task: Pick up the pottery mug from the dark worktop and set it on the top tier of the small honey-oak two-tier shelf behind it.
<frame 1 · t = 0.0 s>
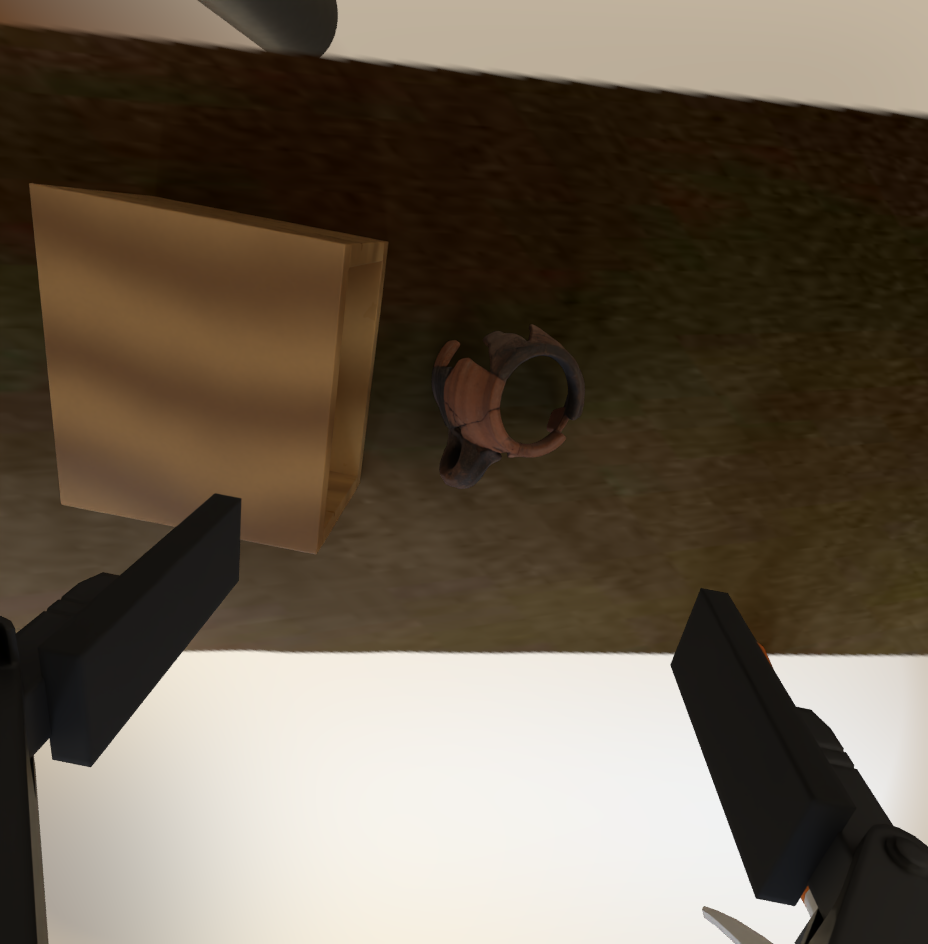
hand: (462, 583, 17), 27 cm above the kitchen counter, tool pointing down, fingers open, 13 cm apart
shelf: (265, 351, 43), on the kitchen counter
pottery mug: (494, 395, 43), on the kitchen counter
spray bottle: (700, 667, 50), on the kitchen counter
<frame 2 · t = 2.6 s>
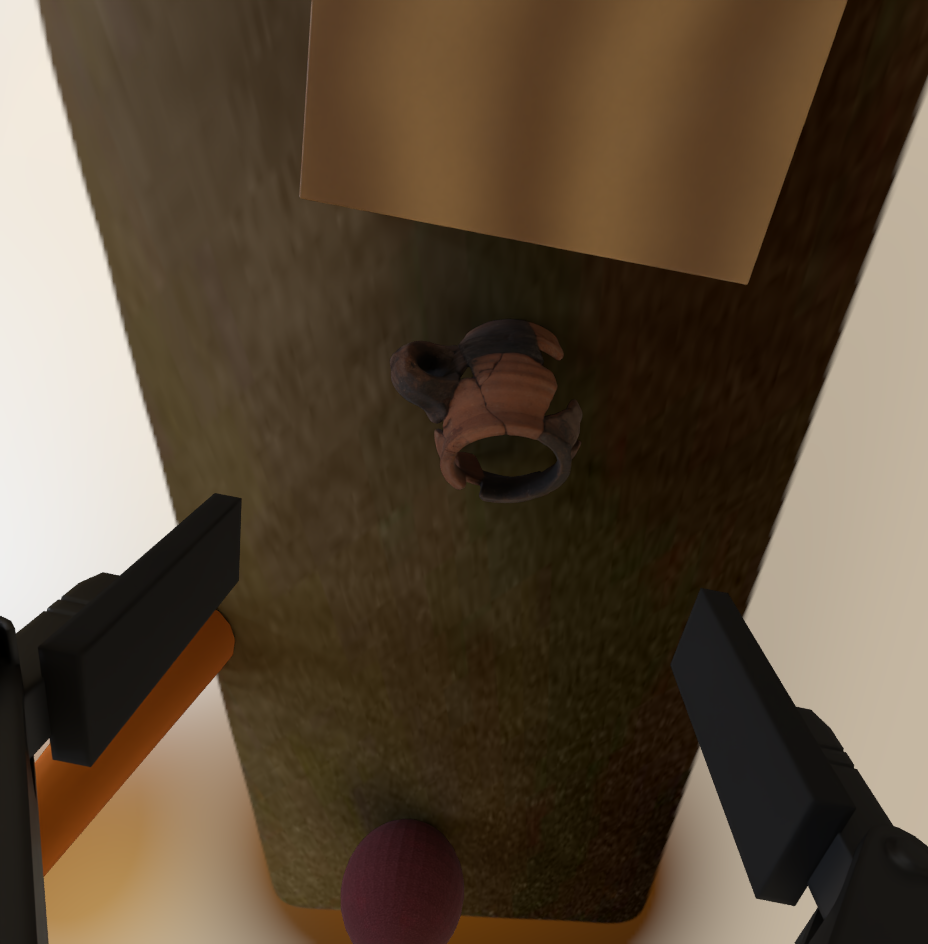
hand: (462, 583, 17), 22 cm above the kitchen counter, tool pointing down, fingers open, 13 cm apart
shelf: (553, 73, 30), on the kitchen counter
pottery mug: (490, 390, 37), on the kitchen counter
decorative ball: (413, 830, 53), on the kitchen counter
spray bottle: (182, 612, 45), on the kitchen counter
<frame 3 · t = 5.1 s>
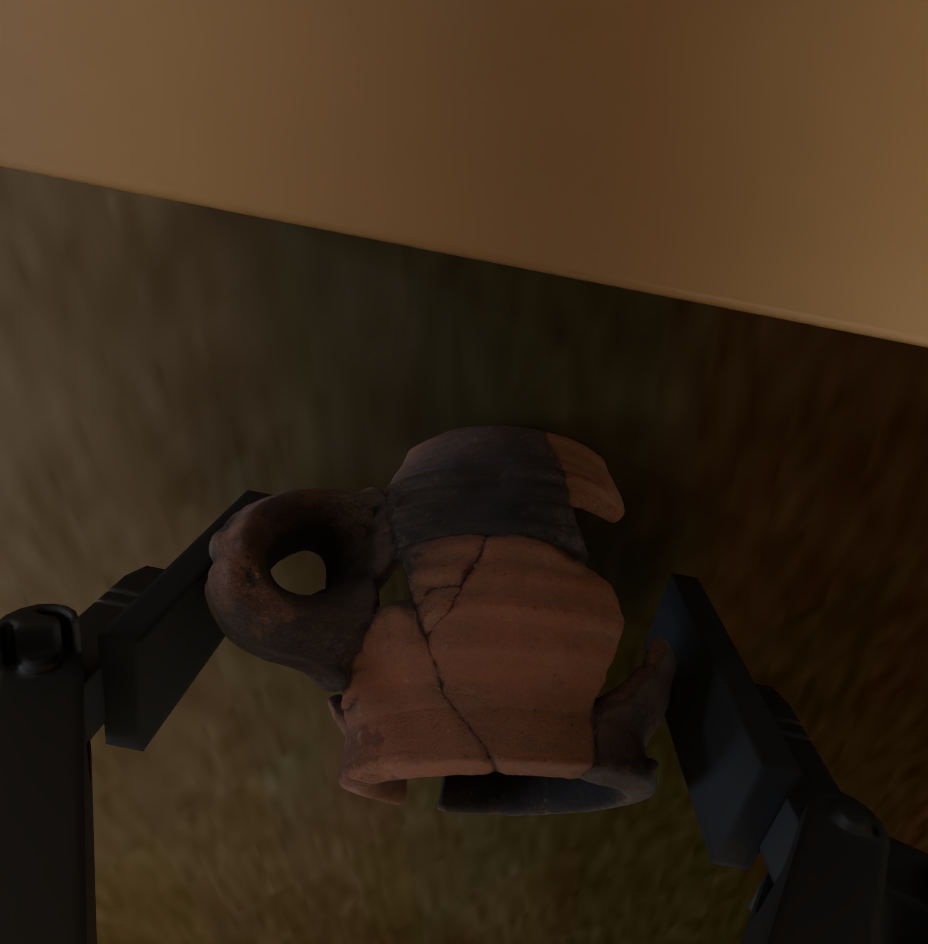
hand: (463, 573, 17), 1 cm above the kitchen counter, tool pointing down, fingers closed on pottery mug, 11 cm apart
pottery mug: (462, 555, 18), on the kitchen counter, touching gripper
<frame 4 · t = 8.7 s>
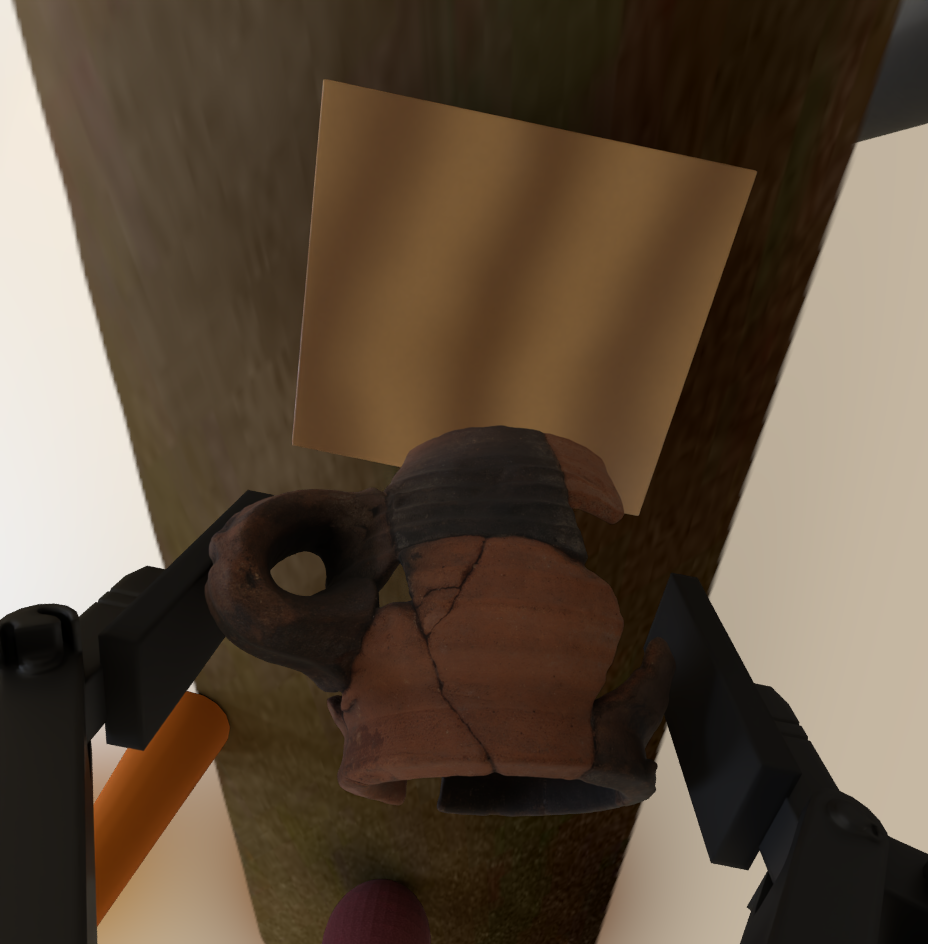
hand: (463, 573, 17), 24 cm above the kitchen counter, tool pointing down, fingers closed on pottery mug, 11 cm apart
shelf: (501, 299, 37), on the kitchen counter
pottery mug: (462, 556, 18), point 23 cm above the kitchen counter, touching gripper
decorative ball: (387, 886, 59), on the kitchen counter
spray bottle: (183, 703, 52), on the kitchen counter
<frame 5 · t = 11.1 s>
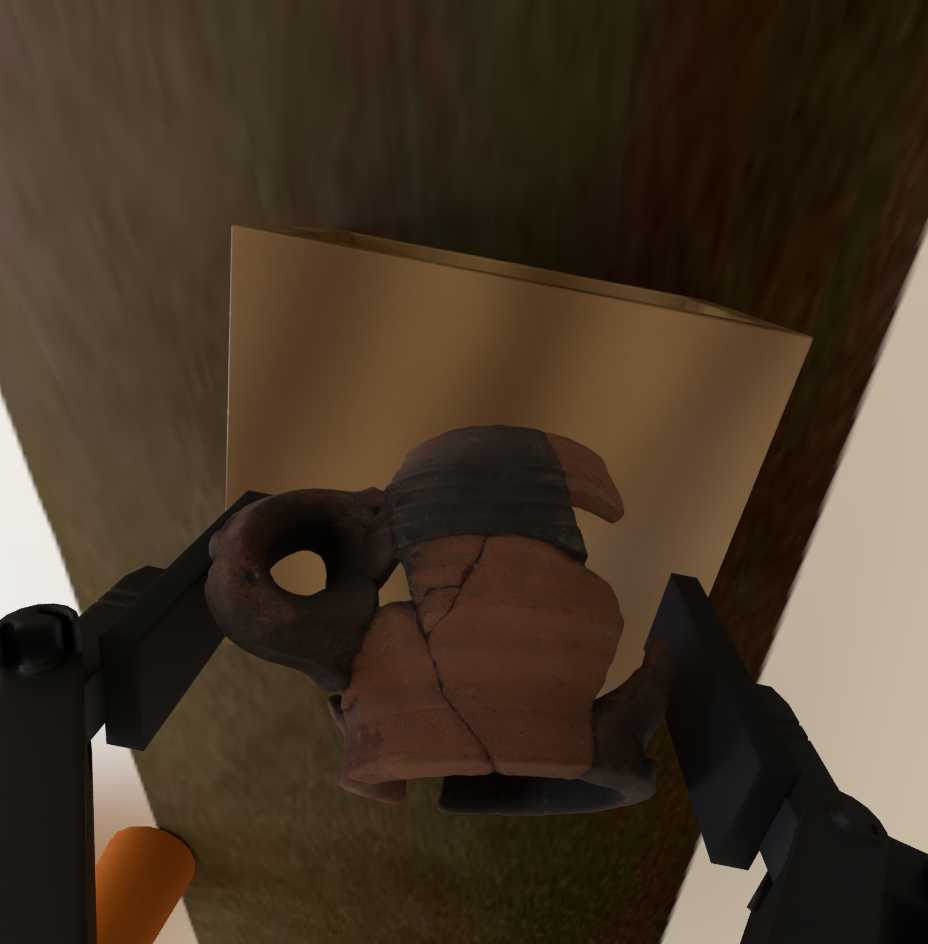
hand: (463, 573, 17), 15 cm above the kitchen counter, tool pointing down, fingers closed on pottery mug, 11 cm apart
shelf: (486, 421, 31), on the kitchen counter
pottery mug: (462, 555, 18), point 14 cm above the kitchen counter, touching gripper
spray bottle: (144, 836, 46), on the kitchen counter
when the fingers open (12 cm above the kitchen counter, at t = 12.6 s): pottery mug stays where it is, resting on shelf.
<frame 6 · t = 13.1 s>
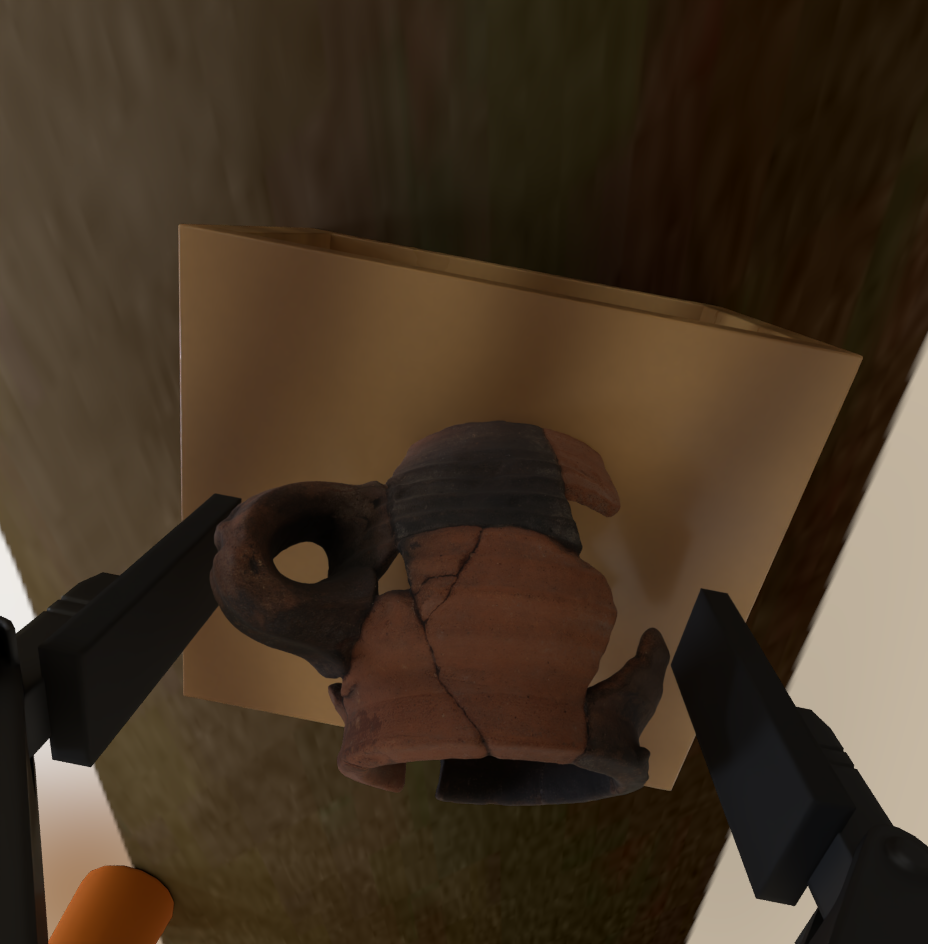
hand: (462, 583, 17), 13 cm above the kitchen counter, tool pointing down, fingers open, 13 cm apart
shelf: (482, 439, 28), on the kitchen counter
pottery mug: (462, 550, 18), point 11 cm above the kitchen counter, touching shelf
spray bottle: (119, 875, 43), on the kitchen counter
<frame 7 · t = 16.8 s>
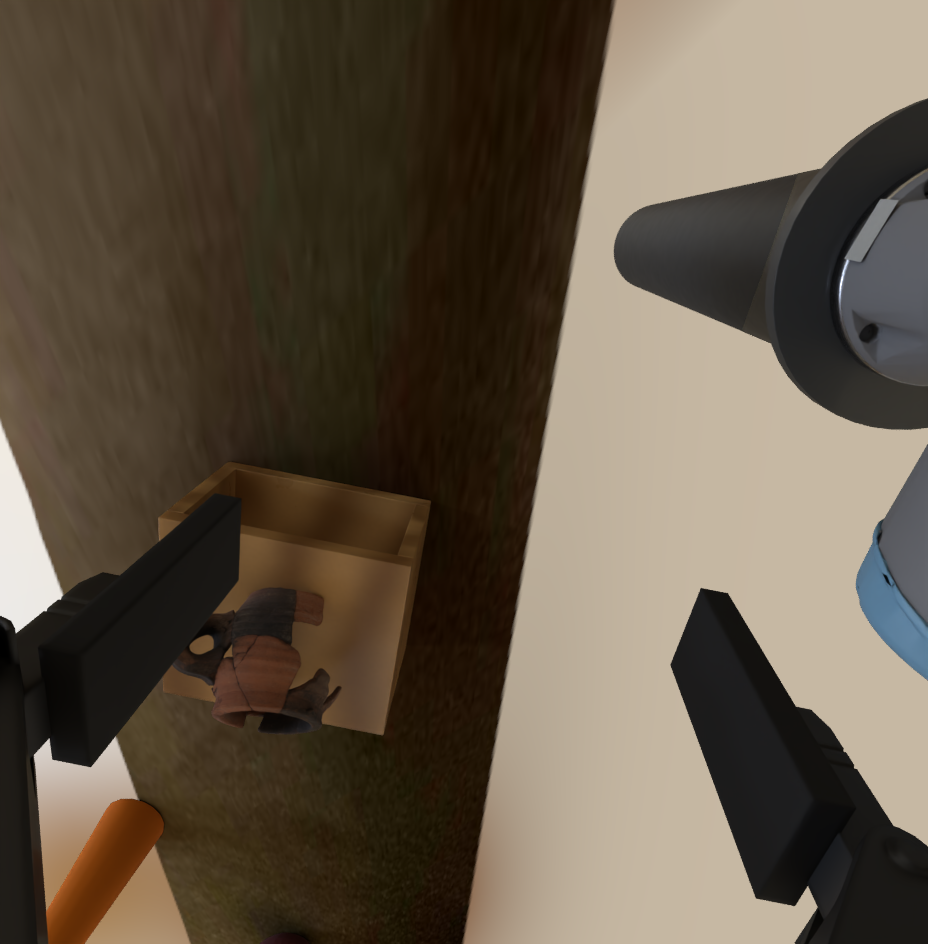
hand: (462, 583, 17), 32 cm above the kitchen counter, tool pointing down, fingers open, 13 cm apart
shelf: (322, 558, 54), on the kitchen counter
pottery mug: (277, 631, 44), point 11 cm above the kitchen counter, touching shelf
decorative ball: (293, 937, 76), on the kitchen counter
spray bottle: (129, 806, 69), on the kitchen counter
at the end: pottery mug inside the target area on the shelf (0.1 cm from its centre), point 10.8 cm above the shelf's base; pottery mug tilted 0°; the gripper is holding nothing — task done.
